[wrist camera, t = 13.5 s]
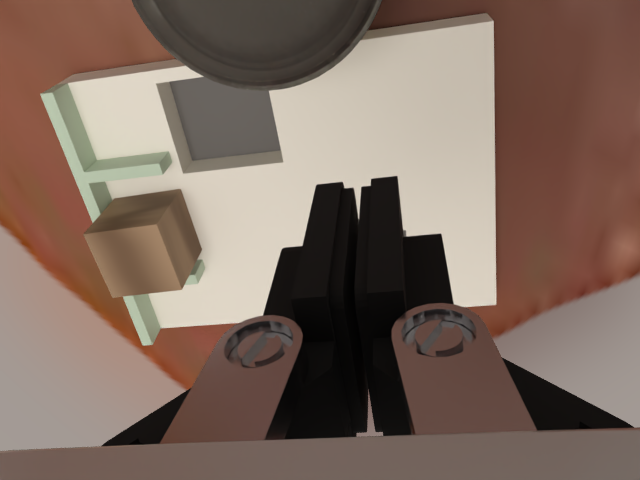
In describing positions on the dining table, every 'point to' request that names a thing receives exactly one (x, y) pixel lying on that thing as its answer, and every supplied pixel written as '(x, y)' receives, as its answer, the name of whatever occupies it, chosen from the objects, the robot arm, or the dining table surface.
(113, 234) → the walnut block
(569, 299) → the dining table surface
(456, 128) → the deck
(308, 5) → the coffee can
